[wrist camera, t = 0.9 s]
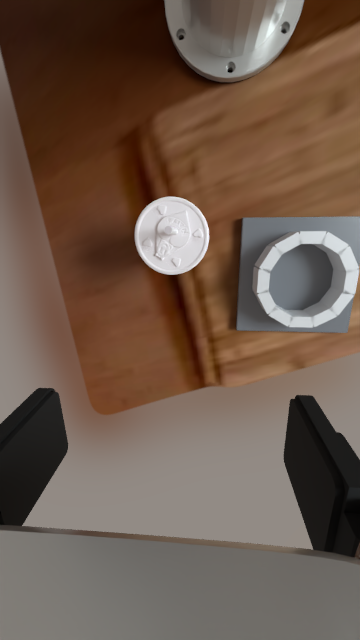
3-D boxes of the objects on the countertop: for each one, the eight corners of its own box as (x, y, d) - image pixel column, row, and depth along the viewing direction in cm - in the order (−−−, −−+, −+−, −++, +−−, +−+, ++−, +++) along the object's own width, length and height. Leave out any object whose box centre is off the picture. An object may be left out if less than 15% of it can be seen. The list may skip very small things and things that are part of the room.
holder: (242, 218, 31) (247, 215, 27) (362, 217, 30) (385, 214, 26) (235, 327, 35) (239, 338, 31) (343, 329, 34) (360, 341, 30)
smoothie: (218, 228, 32) (229, 221, 18) (188, 275, 34) (178, 300, 20) (171, 196, 31) (147, 165, 18) (143, 245, 33) (102, 251, 20)
